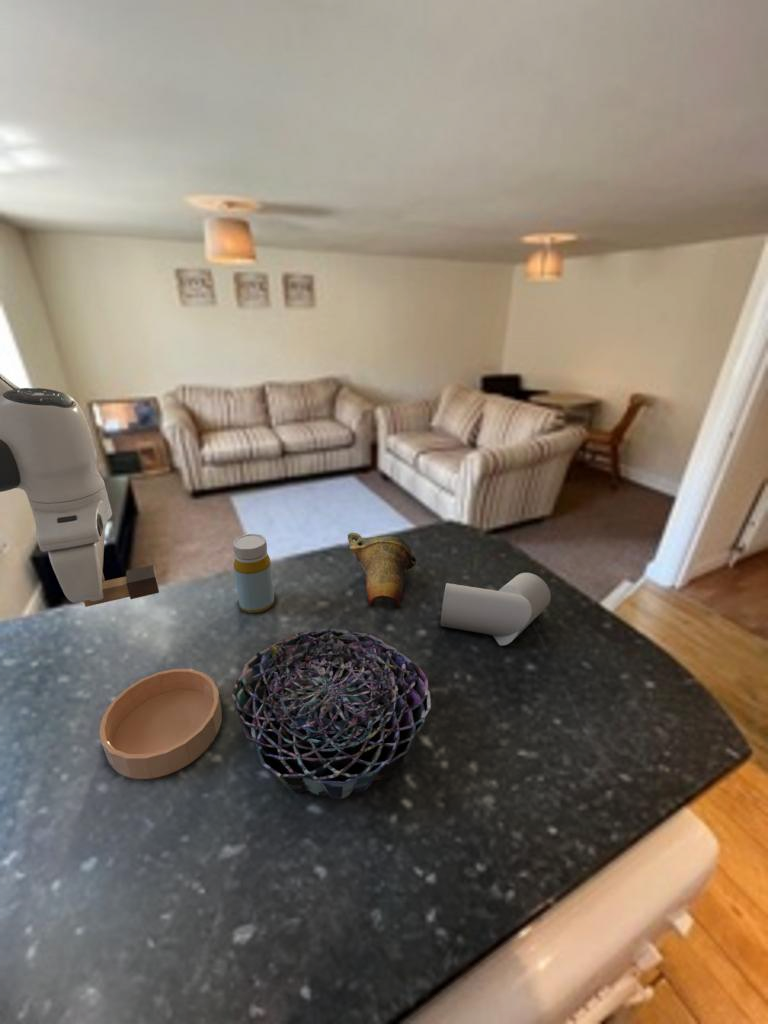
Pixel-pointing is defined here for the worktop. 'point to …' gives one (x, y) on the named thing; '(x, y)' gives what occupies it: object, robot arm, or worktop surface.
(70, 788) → the worktop surface
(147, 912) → the worktop surface
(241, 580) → the bottle
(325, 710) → the decorative bowl
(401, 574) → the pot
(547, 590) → the bent grey cylinder
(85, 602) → the brush
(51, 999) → the worktop surface
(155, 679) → the wash bowl
